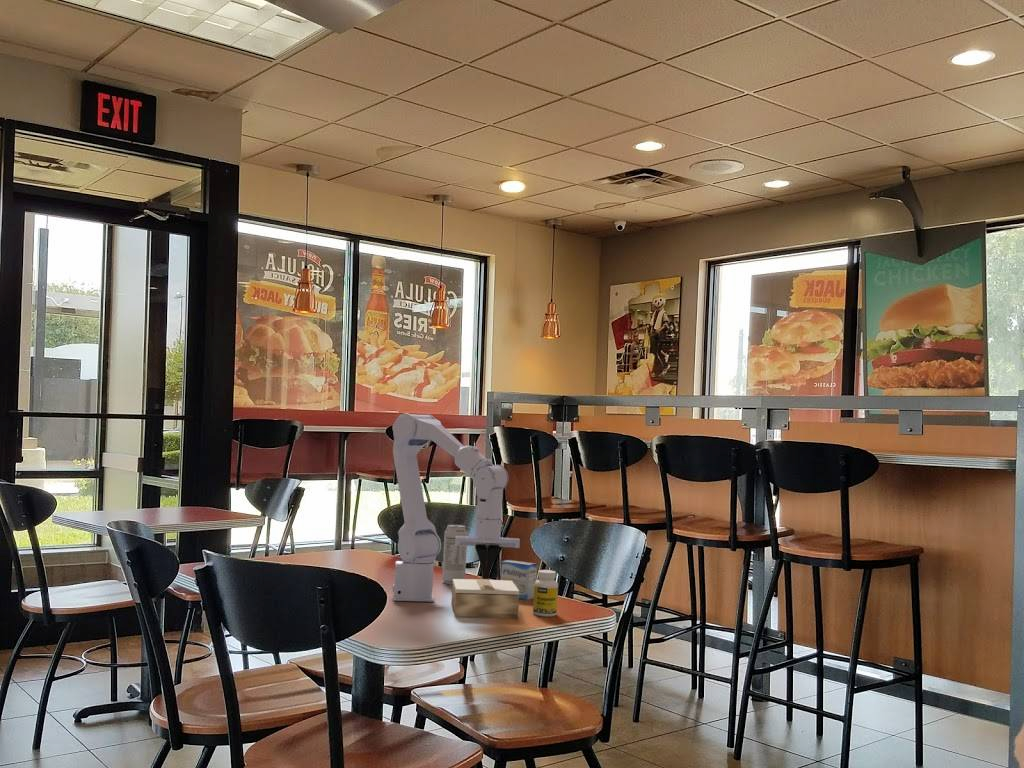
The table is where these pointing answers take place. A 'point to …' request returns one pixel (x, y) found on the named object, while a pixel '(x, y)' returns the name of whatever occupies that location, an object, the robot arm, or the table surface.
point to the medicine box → (520, 576)
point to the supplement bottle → (545, 594)
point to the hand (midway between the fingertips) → (485, 578)
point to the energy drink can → (454, 554)
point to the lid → (485, 586)
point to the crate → (484, 605)
